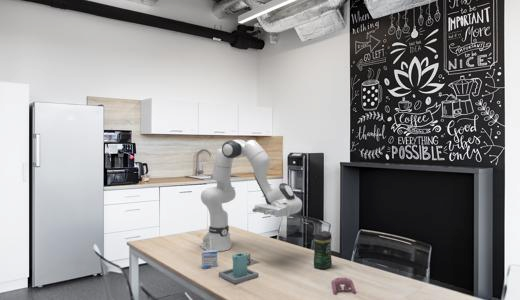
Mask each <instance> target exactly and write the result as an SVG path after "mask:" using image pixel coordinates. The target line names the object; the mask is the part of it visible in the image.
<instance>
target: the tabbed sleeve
mask: <svg viewBox="0 0 520 300" xmlns="http://www.w3.org/2000/svg"><path fill="white" fill-rule="evenodd" d="M231 257H232V269H233V275H234V276H236V277H239V278H240V277H243V276H246V275H247V269H248V266H247V255H246V254H245V253H243V252H238V253H234V254H232V256H231Z"/></svg>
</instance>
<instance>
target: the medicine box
mask: <svg viewBox="0 0 520 300" xmlns="http://www.w3.org/2000/svg"><path fill="white" fill-rule="evenodd" d="M201 267H202V269H203V270H207V269H208V270H209V269H212V268H215V267H216V268H217V267H218V251H217V250H201Z"/></svg>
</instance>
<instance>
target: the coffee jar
mask: <svg viewBox="0 0 520 300" xmlns="http://www.w3.org/2000/svg"><path fill="white" fill-rule="evenodd" d="M332 241H333V239H332V233H331V232H330V231H327V230H323V231H320V232H319V231H318V232H316V233H314V234H313V242H314V252H313V267H314V268H316V269H318V270H326V269H329V268H331V267H332V265H333V263H332V262H333V261H332Z"/></svg>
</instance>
